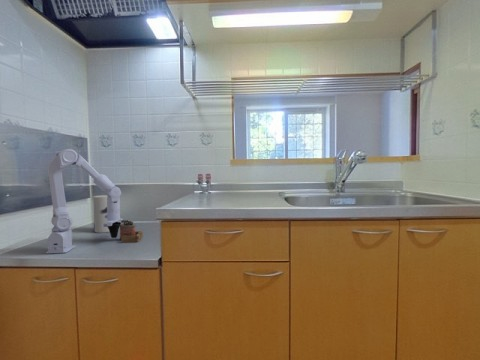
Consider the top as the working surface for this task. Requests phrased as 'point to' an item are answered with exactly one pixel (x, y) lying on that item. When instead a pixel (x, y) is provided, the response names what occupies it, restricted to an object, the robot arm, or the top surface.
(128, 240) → the lighter dock
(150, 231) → the top surface
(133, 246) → the top surface
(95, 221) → the container
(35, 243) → the top surface
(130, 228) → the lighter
